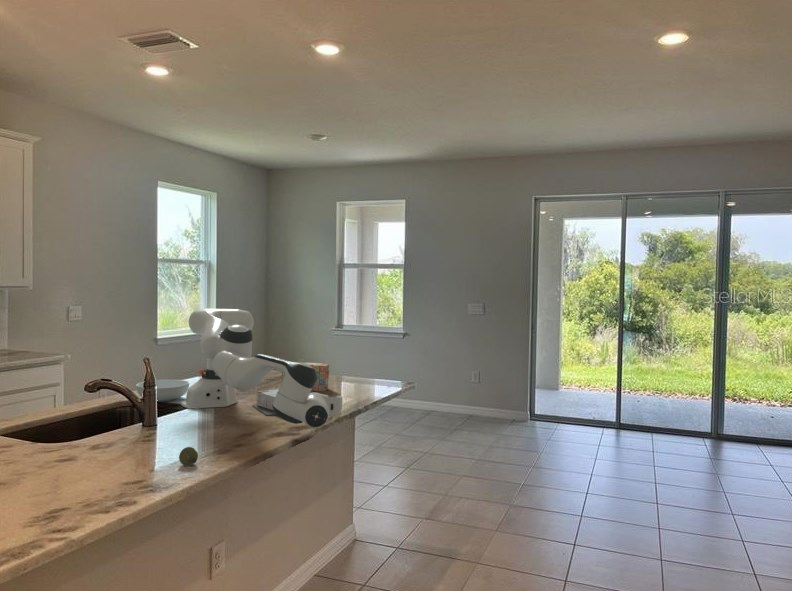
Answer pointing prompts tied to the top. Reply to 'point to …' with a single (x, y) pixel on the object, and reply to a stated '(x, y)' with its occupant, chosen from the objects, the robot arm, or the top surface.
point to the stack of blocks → (319, 376)
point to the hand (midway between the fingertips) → (312, 398)
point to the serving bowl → (167, 389)
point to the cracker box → (266, 398)
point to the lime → (188, 456)
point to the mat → (265, 410)
